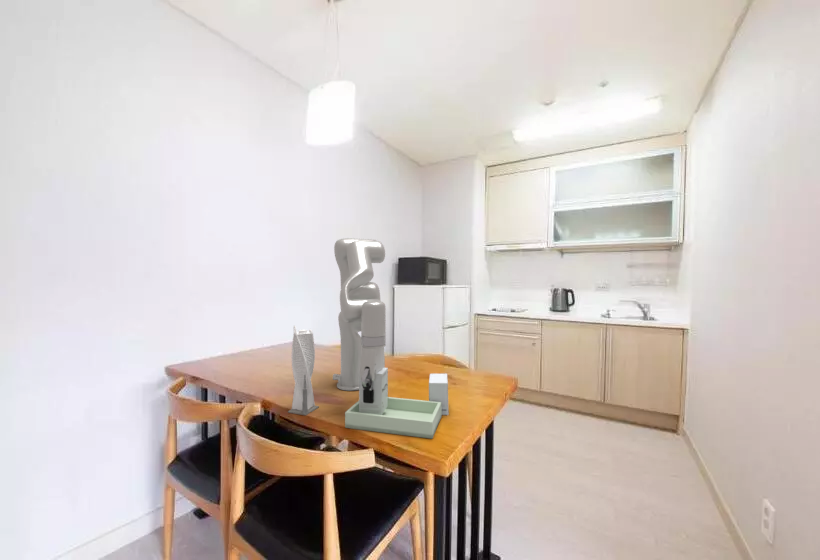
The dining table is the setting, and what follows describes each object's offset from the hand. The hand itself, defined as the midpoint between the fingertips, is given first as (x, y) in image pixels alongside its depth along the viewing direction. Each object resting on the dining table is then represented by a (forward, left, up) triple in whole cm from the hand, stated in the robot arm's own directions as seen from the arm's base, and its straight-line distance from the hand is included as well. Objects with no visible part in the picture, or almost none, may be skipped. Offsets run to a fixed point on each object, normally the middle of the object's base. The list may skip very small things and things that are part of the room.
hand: (373, 397), depth 101 cm
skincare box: (+18, +13, -7) cm, 24 cm away
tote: (+7, 0, -7) cm, 10 cm away
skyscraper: (-26, +1, -7) cm, 27 cm away
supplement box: (0, 0, -4) cm, 4 cm away
